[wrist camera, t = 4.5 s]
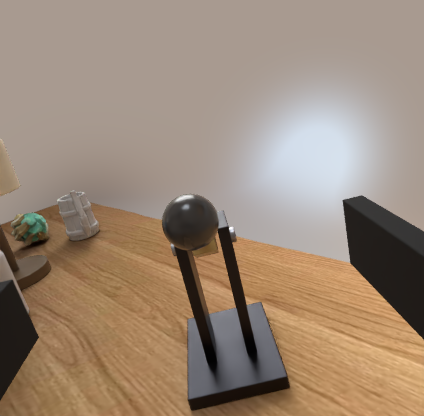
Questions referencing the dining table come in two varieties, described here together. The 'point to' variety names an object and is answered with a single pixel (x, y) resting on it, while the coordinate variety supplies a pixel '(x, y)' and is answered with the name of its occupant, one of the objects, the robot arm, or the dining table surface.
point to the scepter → (29, 228)
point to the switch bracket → (228, 338)
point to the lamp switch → (191, 224)
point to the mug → (77, 216)
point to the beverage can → (9, 276)
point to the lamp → (23, 268)
